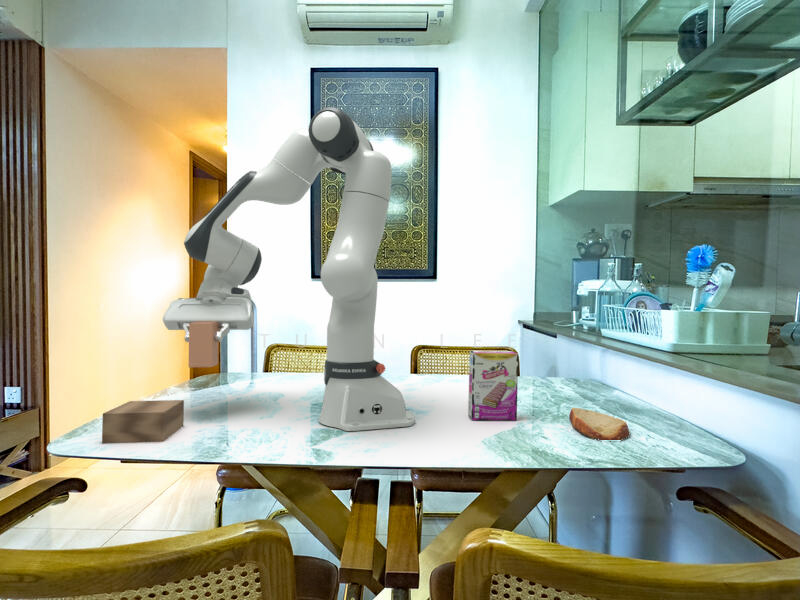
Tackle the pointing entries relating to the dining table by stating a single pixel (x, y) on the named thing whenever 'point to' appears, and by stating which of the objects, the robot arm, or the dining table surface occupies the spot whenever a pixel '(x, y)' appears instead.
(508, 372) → the candy bar box
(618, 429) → the slice of bread
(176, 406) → the walnut block
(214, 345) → the terracotta block
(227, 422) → the dining table surface
